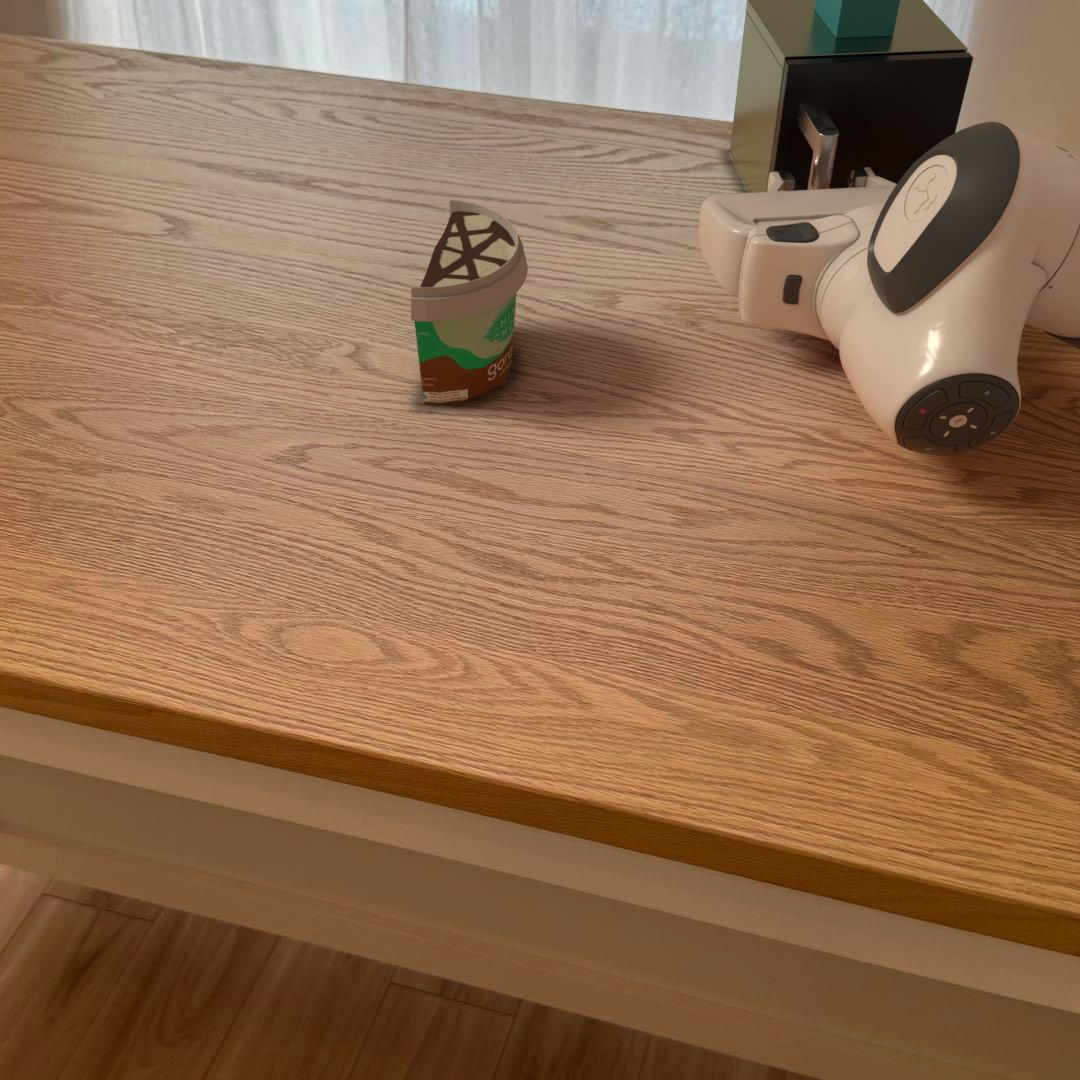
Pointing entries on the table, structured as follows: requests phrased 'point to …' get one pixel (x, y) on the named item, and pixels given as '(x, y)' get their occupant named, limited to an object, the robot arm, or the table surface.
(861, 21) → the detergent bottle
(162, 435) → the table surface
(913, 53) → the olive green small cabinet
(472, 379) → the food container
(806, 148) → the black cabinet door
